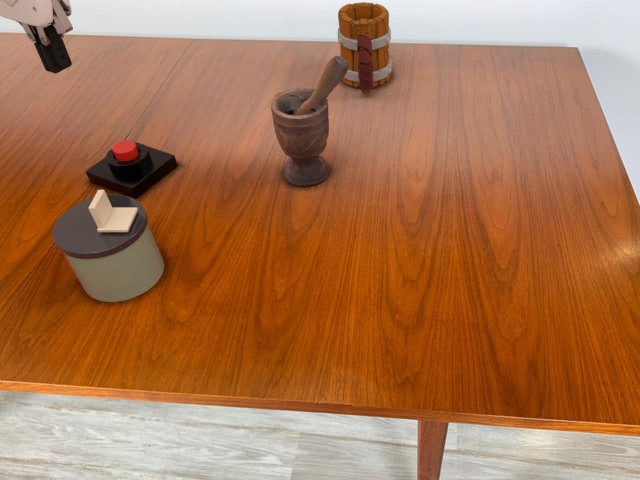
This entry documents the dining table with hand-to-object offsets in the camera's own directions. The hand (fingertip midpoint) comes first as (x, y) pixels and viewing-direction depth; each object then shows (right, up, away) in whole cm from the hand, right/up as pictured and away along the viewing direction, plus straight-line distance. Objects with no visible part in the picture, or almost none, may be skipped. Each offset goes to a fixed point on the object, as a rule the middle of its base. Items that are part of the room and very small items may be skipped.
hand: (59, 68), depth 81 cm
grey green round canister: (+9, -28, 0) cm, 30 cm away
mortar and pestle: (+34, -11, +16) cm, 39 cm away
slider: (+11, -22, -6) cm, 26 cm away
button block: (+4, -12, +16) cm, 20 cm away
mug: (+41, +11, +36) cm, 56 cm away
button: (+4, -9, +13) cm, 17 cm away
